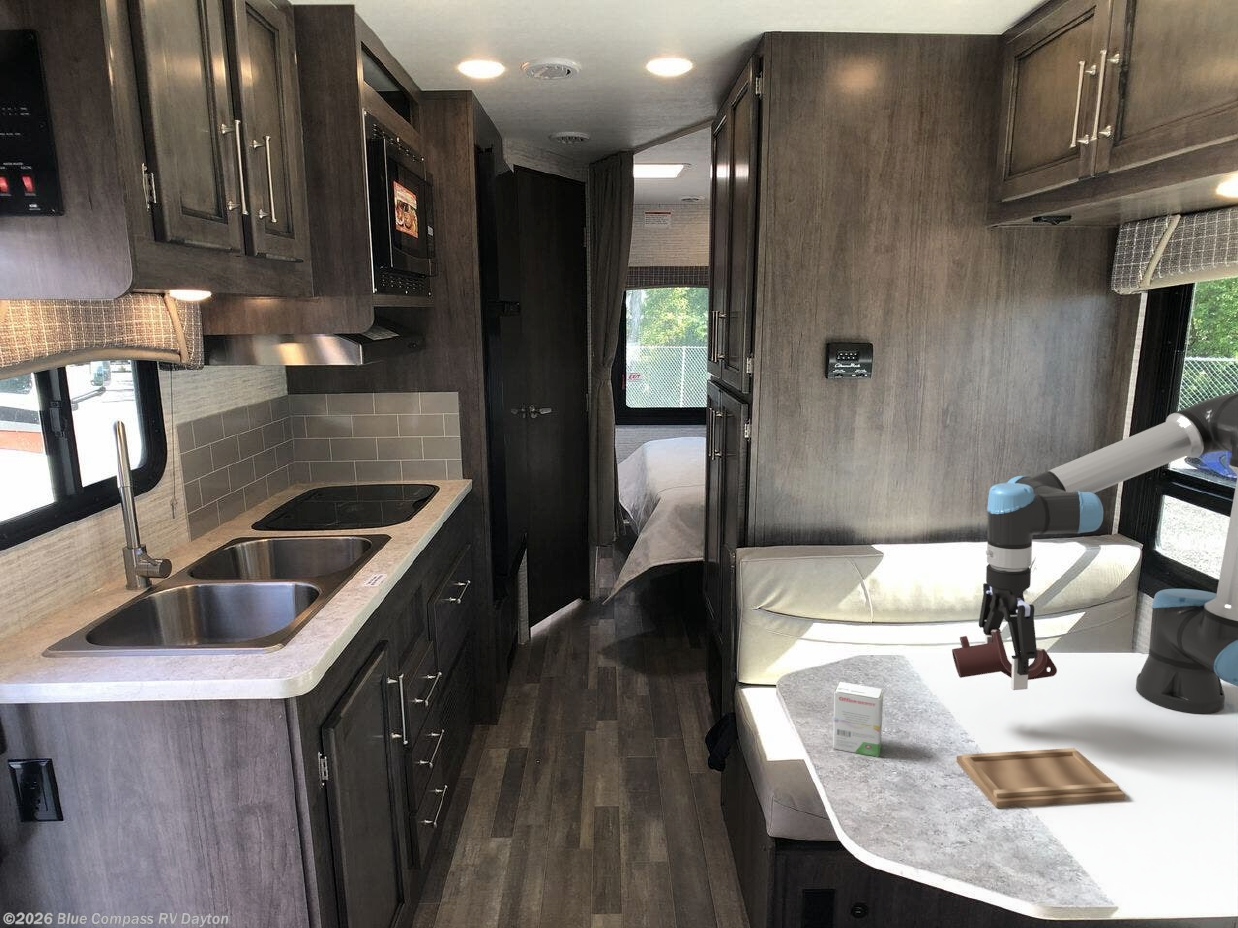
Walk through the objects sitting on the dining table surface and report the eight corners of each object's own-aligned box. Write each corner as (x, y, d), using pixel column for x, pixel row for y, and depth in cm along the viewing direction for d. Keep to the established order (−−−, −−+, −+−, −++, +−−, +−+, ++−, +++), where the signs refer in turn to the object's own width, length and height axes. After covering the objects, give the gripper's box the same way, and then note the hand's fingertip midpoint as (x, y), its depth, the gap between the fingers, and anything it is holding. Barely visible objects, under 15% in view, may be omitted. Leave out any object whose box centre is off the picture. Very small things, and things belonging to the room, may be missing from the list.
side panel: (1072, 754, 144) (1073, 744, 143) (1124, 800, 130) (1125, 789, 130) (956, 761, 143) (956, 751, 142) (996, 808, 129) (996, 797, 129)
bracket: (1061, 676, 144) (1045, 622, 146) (965, 690, 148) (950, 637, 150) (1053, 673, 150) (1038, 621, 152) (961, 687, 154) (947, 637, 156)
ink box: (832, 749, 149) (833, 691, 147) (836, 735, 153) (837, 680, 151) (879, 758, 145) (880, 699, 143) (882, 744, 150) (884, 687, 148)
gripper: (961, 550, 157) (959, 655, 161) (1021, 585, 135) (1017, 705, 139) (997, 548, 157) (994, 652, 161) (1063, 582, 136) (1058, 702, 140)
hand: (1005, 677), depth 150 cm, fingers closed on bracket, 9 cm apart
